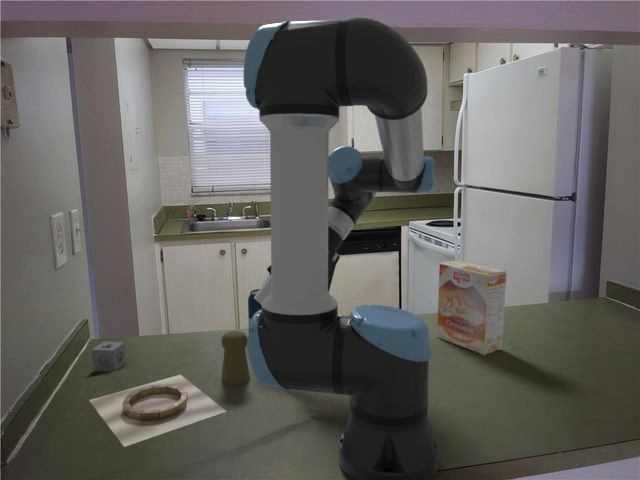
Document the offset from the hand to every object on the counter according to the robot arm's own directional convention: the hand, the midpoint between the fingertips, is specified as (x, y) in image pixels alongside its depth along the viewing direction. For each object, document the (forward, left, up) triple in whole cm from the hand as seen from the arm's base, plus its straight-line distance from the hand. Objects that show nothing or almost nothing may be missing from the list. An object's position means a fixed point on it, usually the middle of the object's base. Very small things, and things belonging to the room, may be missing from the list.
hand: (275, 308), depth 110 cm
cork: (0, +10, -14) cm, 17 cm away
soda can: (+20, -9, -14) cm, 26 cm away
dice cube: (+25, +27, -14) cm, 40 cm away
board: (-1, +27, -14) cm, 30 cm away
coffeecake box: (-16, -46, -14) cm, 51 cm away
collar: (-1, +27, -13) cm, 30 cm away
